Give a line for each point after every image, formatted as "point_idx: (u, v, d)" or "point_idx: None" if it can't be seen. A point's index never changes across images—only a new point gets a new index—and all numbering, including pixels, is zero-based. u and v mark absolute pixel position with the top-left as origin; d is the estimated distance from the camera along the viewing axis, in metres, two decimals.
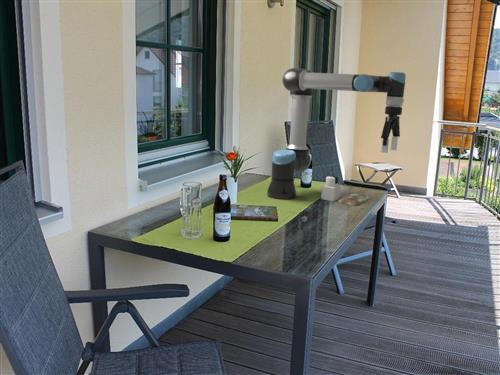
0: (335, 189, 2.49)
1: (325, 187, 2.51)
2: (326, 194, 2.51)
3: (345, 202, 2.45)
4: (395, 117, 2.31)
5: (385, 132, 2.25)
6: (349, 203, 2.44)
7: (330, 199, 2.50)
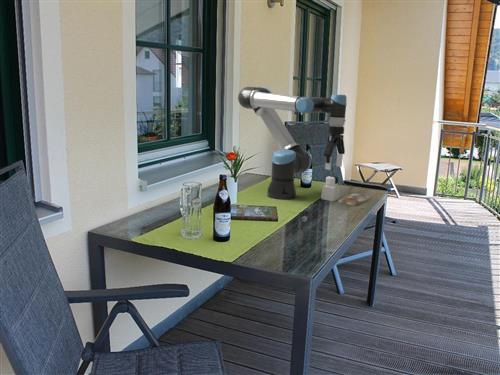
0: (335, 189, 2.49)
1: (325, 187, 2.51)
2: (326, 194, 2.51)
3: (345, 202, 2.45)
4: (338, 136, 2.47)
5: (327, 150, 2.40)
6: (349, 203, 2.44)
7: (330, 199, 2.50)
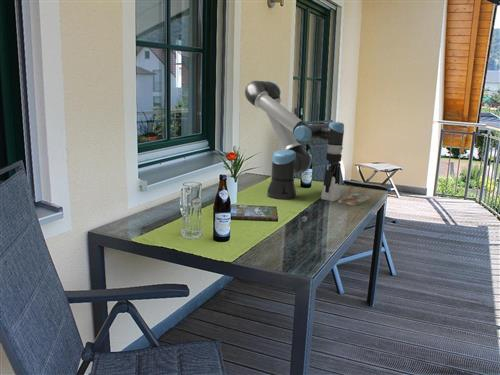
0: (335, 189, 2.49)
1: None
2: None
3: (345, 202, 2.45)
4: (336, 161, 2.50)
5: (326, 181, 2.46)
6: (349, 203, 2.44)
7: (330, 199, 2.50)
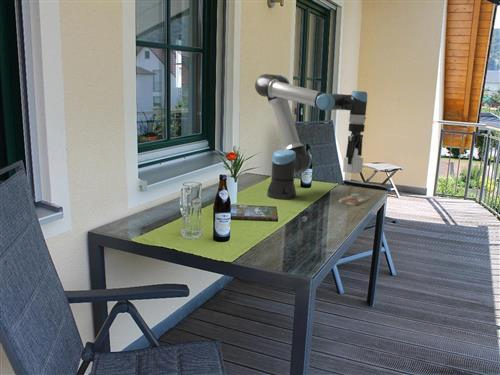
0: (358, 161, 2.40)
1: (347, 159, 2.42)
2: None
3: (345, 202, 2.45)
4: (358, 132, 2.41)
5: (349, 152, 2.37)
6: (349, 203, 2.44)
7: (353, 171, 2.41)
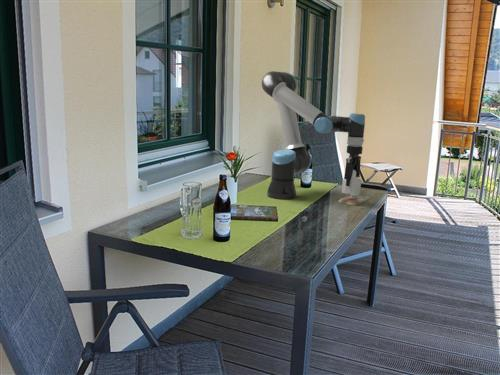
0: (356, 182, 2.42)
1: None
2: None
3: (345, 202, 2.45)
4: (356, 154, 2.43)
5: (347, 174, 2.39)
6: (349, 203, 2.44)
7: (351, 193, 2.43)
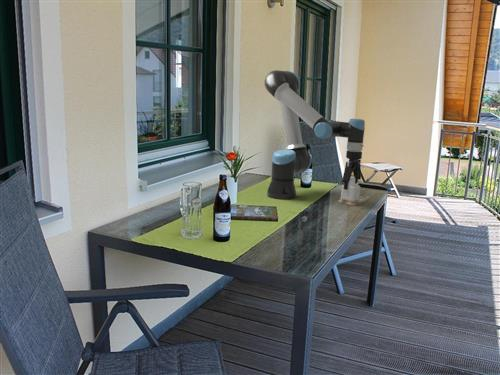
0: (355, 189, 2.43)
1: None
2: None
3: (345, 202, 2.45)
4: (356, 160, 2.44)
5: (345, 177, 2.38)
6: (349, 203, 2.44)
7: (350, 199, 2.44)
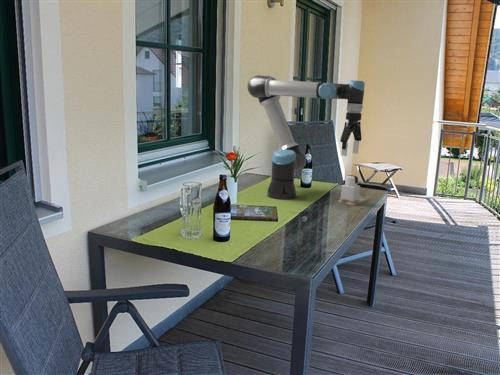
0: (355, 189, 2.43)
1: (345, 187, 2.45)
2: (345, 194, 2.45)
3: (345, 202, 2.45)
4: (355, 122, 2.46)
5: (344, 136, 2.40)
6: (349, 203, 2.44)
7: (350, 199, 2.44)
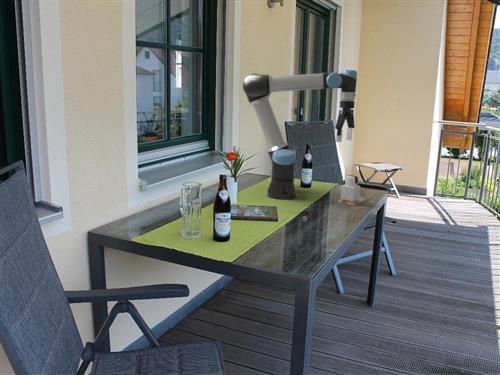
0: (355, 189, 2.43)
1: (345, 187, 2.45)
2: (345, 194, 2.45)
3: (345, 202, 2.45)
4: (349, 110, 2.59)
5: (338, 123, 2.52)
6: (349, 203, 2.44)
7: (350, 199, 2.44)
